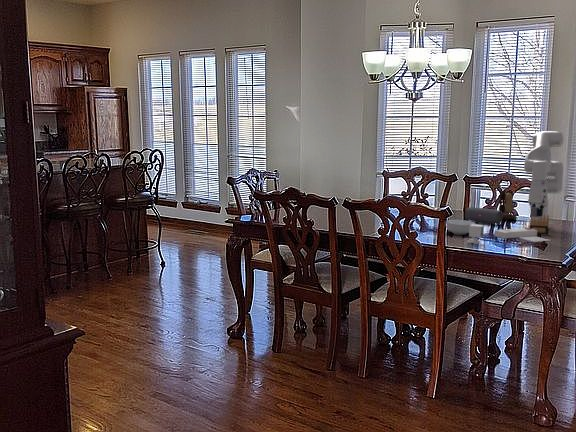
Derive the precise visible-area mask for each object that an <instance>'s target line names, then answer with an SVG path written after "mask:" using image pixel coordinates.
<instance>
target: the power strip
mask: <svg viewBox="0 0 576 432" xmlns="http://www.w3.org/2000/svg"><path fill="white" fill-rule="evenodd" d="M533 236H536V237H538V234H537V230H534V229H533V228H532V229H531V228H529V227H521V228H507V229H494V237H496V238H501V239H515V238H517V239H518V238H520V237H533Z"/></svg>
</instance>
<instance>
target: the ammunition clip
mask: <svg viewBox="0 0 576 432" xmlns="http://www.w3.org/2000/svg"><path fill="white" fill-rule="evenodd" d="M549 221H550V216H549V214H548V215H547V219H546V216H545V215H544V218H543V221H542V217H540V223H539V220H537V221H536V220H533V219H532V216H530V219H529V225H530V228H531V229H534V230H537V235H542V234H546V235H545V236H549V229H550V224H549ZM542 223H543V225H542ZM545 225H546V226H545ZM548 228H549V229H548Z"/></svg>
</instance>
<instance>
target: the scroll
mask: <svg viewBox="0 0 576 432" xmlns="http://www.w3.org/2000/svg"><path fill="white" fill-rule="evenodd" d="M498 203H499V206H498V211H501V212H502V215H503V219H502V220H503V221H504V222H506V220H514V221H517V219H518V217H517V215H515V214H513V210H514V208H513V204H514V192H513V191H512V190H509V191H507V192H505V191H504V190H502V191H500V192H499V201H498ZM504 204H505V205H504Z"/></svg>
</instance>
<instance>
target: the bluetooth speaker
mask: <svg viewBox="0 0 576 432" xmlns="http://www.w3.org/2000/svg"><path fill="white" fill-rule="evenodd" d="M502 214H503V213H502V212H501V211H499V209H498V210H497V209H493V208H492V209H491V208H485V207H484V208H483V207H473V206H472V207H470V206H469V207H466V210H465V213H464V217H465V219H466V220H467V221H471V222H474V223H475V224H477V223H478V224H481V225H491V224H495V225H496V224H497V225H498V224H501V223H502V222H503V220H504V219H503V215H502Z"/></svg>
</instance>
